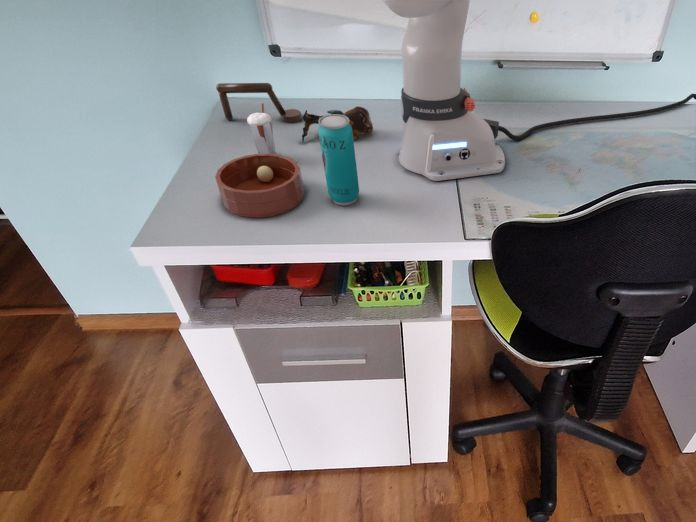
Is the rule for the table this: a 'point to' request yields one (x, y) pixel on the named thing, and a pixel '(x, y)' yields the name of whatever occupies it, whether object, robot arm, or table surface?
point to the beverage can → (339, 158)
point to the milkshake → (262, 132)
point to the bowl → (260, 185)
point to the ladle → (224, 88)
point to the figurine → (357, 116)
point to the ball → (265, 173)
